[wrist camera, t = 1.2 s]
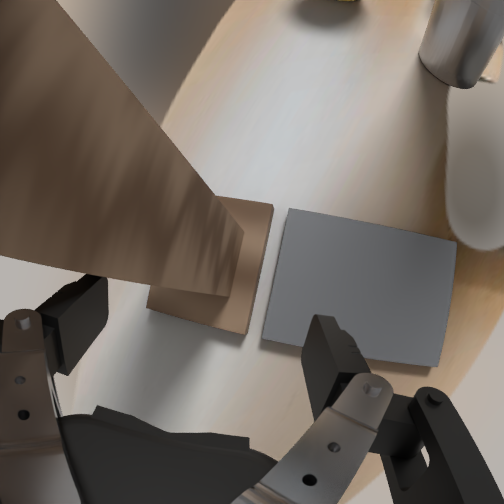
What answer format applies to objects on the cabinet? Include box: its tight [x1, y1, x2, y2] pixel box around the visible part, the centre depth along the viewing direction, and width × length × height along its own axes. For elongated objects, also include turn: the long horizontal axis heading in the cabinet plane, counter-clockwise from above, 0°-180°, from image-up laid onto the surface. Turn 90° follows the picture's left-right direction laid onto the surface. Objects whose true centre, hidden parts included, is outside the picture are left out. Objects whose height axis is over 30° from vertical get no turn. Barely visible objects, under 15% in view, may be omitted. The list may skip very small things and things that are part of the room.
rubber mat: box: [262, 208, 457, 367], centre depth 26 cm, size 12×17×1 cm
